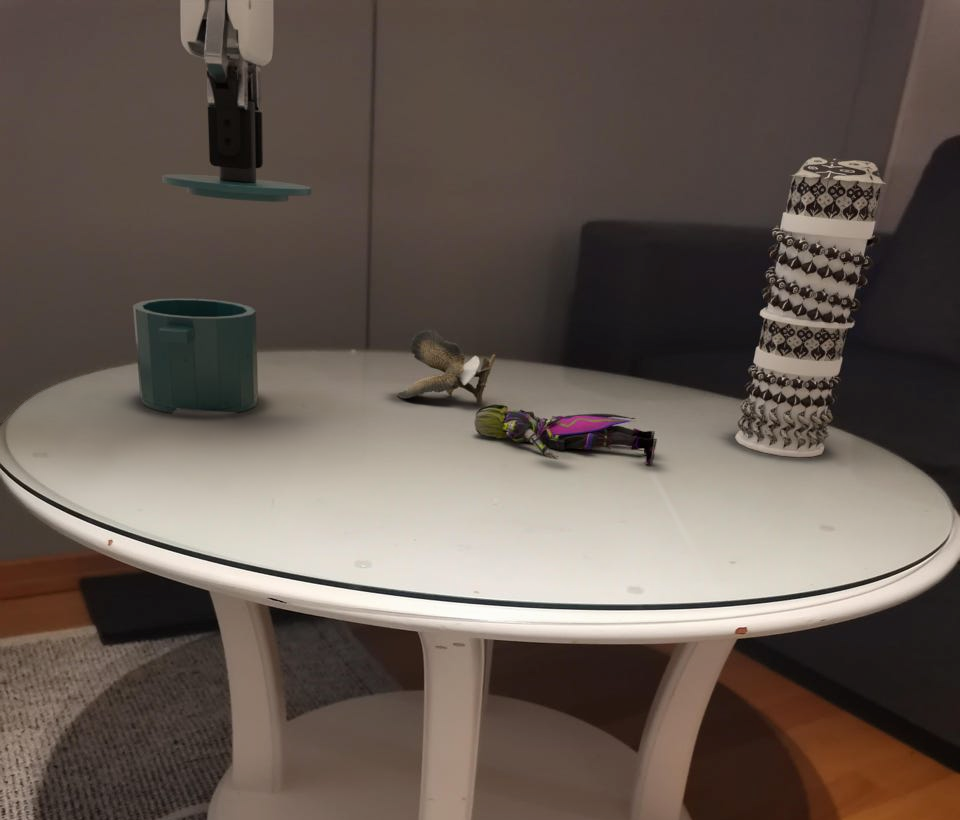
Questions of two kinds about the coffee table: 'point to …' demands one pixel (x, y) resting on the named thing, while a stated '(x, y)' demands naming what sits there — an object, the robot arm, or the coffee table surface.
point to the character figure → (563, 430)
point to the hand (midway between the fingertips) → (236, 164)
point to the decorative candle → (809, 305)
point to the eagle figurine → (446, 367)
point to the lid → (237, 182)
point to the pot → (196, 354)
